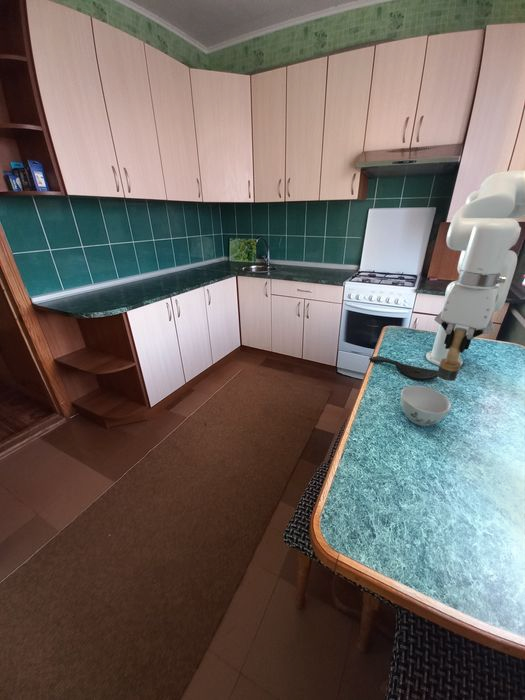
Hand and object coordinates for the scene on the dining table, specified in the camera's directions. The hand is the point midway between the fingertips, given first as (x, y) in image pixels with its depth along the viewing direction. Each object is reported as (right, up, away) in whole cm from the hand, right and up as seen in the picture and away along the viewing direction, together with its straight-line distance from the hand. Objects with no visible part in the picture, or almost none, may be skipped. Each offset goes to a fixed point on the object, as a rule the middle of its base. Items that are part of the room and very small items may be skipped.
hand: (455, 348), depth 76 cm
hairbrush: (+2, -8, +34) cm, 35 cm away
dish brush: (0, -8, +4) cm, 9 cm away
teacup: (-4, -20, +10) cm, 23 cm away
